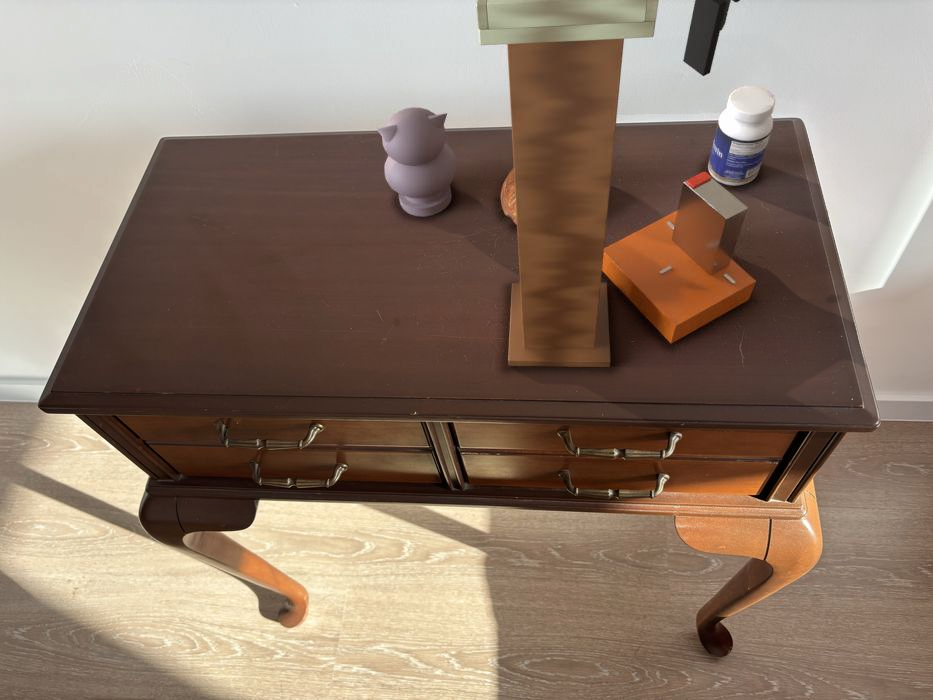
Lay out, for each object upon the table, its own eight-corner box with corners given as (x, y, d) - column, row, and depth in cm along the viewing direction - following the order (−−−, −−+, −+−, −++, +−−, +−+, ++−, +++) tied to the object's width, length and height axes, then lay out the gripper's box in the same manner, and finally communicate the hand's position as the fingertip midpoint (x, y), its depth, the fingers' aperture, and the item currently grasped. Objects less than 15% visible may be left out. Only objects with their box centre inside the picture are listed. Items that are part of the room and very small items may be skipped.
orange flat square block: (772, 286, 72) (780, 266, 69) (670, 343, 69) (675, 325, 67) (695, 218, 78) (700, 197, 76) (599, 268, 76) (601, 248, 73)
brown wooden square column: (606, 288, 74) (646, -93, 43) (609, 367, 68) (659, -5, 38) (512, 288, 75) (486, -82, 44) (508, 366, 70) (475, 4, 39)
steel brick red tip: (729, 264, 70) (748, 205, 63) (709, 275, 70) (727, 217, 63) (690, 229, 73) (704, 169, 67) (671, 239, 73) (683, 179, 66)
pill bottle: (705, 154, 84) (722, 81, 76) (755, 154, 83) (778, 81, 75) (708, 187, 81) (726, 115, 73) (759, 188, 80) (784, 116, 72)
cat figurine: (451, 167, 87) (439, 84, 77) (468, 209, 83) (457, 126, 73) (385, 185, 86) (364, 103, 77) (399, 228, 82) (379, 147, 72)
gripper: (786, -269, 47) (717, 24, 65) (470, -159, 42) (489, 127, 60) (874, -239, 43) (775, 64, 61) (538, -114, 38) (537, 178, 56)
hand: (634, 96), depth 60 cm, fingers open, 13 cm apart
